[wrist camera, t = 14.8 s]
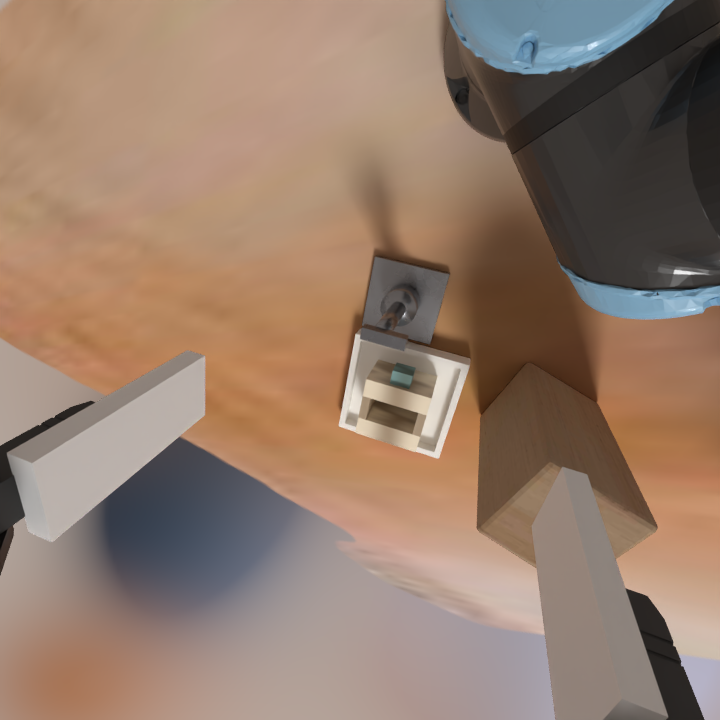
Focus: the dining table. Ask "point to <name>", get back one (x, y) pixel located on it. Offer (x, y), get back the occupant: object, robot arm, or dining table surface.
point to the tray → (425, 360)
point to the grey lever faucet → (402, 303)
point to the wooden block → (551, 463)
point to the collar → (395, 404)
